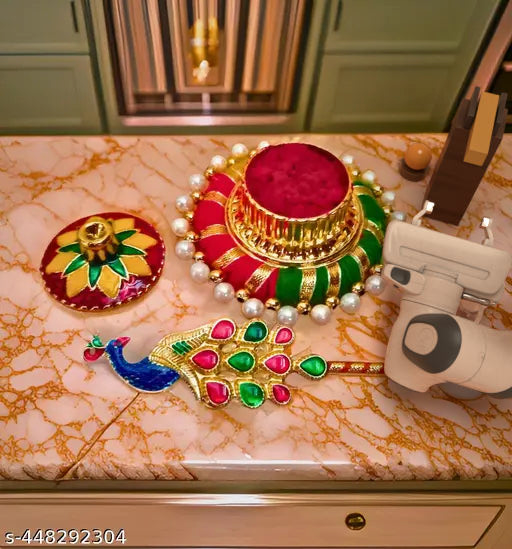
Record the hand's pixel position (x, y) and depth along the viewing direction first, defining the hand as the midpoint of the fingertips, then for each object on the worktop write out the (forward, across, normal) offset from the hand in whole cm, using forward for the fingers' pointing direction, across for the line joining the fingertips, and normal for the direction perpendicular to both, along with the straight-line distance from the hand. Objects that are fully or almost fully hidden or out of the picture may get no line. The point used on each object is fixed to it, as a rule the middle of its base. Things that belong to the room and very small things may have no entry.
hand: (458, 209), depth 94 cm
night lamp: (+13, +8, +31) cm, 34 cm away
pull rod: (+14, 0, +4) cm, 15 cm away
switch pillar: (+6, 0, +27) cm, 27 cm away
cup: (-14, -9, +15) cm, 23 cm away
